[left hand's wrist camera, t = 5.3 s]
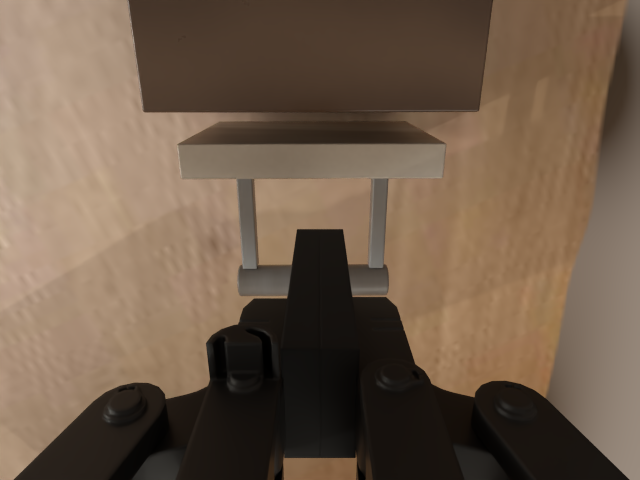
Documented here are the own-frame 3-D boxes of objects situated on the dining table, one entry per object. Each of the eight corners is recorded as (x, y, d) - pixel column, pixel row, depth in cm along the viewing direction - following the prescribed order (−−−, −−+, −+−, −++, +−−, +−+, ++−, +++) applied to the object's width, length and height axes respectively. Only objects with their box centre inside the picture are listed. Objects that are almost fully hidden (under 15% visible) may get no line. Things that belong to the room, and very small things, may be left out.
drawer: (397, 249, 23) (429, 316, 17) (229, 250, 23) (196, 318, 17) (435, -308, 16) (519, -572, 9) (183, -310, 16) (91, -578, 9)
